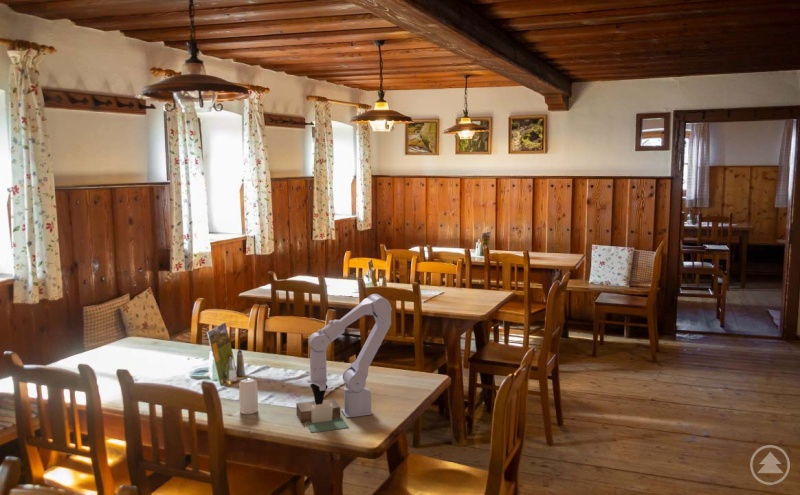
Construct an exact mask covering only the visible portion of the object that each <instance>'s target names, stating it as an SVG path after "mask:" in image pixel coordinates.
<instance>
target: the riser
mask: <svg viewBox="0 0 800 495" xmlns="http://www.w3.org/2000/svg"><path fill="white" fill-rule="evenodd" d="M327 403H332V405H333V412H332V418H340V417H341V405H339V403H338V402H337V401H336V400H335V398H331V399H323V403H322V404H327ZM295 405H296V415H297V417H298V420H299V421H300V423H302V424H304V423H306V422H308V421H311V412H312V405H316V403H315V400H312V401H306V402H304V401H303V402H296V404H295Z"/></svg>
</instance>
